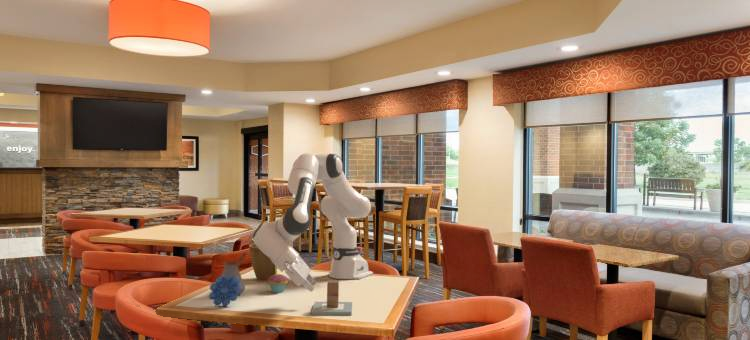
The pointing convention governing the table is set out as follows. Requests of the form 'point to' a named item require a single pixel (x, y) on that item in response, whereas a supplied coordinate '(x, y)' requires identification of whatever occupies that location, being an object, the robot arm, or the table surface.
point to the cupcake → (277, 282)
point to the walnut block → (332, 294)
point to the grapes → (225, 290)
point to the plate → (332, 309)
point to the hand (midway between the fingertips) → (313, 287)
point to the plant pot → (261, 264)
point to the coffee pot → (234, 271)
